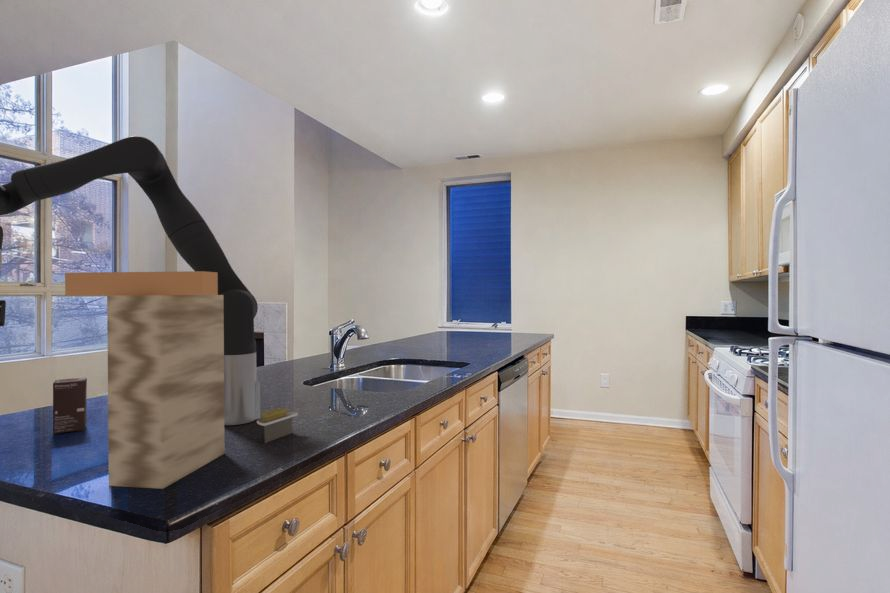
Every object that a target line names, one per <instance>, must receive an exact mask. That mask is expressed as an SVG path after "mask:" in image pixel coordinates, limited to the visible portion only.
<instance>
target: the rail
mask: <svg viewBox="0 0 890 593" xmlns="http://www.w3.org/2000/svg"><path fill="white" fill-rule="evenodd" d="M64 292H65V293H64V294H65V295H64V296H65V297H66V296H67V297H68V296H69V297H70V296H71V297H73V296H74V297H75V296H77V297H78V296H81V297H82V296H83V297H84V296H85V297H86V296H93V297H94V296H103V297H105V296H106V297H107V296H114V295H218V272H205V271H194V270H192V271H187V270H186V271H121V272H120V271H117V272H116V271H112V272H109V271H107V272H105V271H104V272H103V271H102V272H100V271H99V272H91V271H90V272H64Z"/></svg>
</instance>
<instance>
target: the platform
mask: <svg viewBox="0 0 890 593" xmlns="http://www.w3.org/2000/svg"><path fill="white" fill-rule="evenodd" d="M282 408H283V407H277V408H275V409H274V408H273V409H271V410H267V411H264V412H261V416H262V418H261V417H260V418H259V419H256V424H258V425H260V426H263V427H264V444H267V443H269V442H272V441H275V440H277V439H279V438H280V439H281V438H282V437H283V438H284V437H286V436H288V435H290V434H293V417H296V416H298V413H299V412H297V411H296V412H295V411H288V407H285V408H283V409H282Z"/></svg>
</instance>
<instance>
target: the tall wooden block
mask: <svg viewBox="0 0 890 593" xmlns="http://www.w3.org/2000/svg"><path fill="white" fill-rule="evenodd" d="M106 301H107V302H106V303H107V304H106V309H107V310H106V314H107V315H106V318H107V322H106V323H107V325H106V326H107V327H106V328H107V333H106V334H107V419H108V421H107V425H108V426H107V427H108V428H107V430H108V432H107V434H108V435H107V437H108V438H107V440H108V446H107V447H108V452H107V453H108V486H109V487H127V488H142V489H158V490H159V489H161V490H163V489H165V488H167V487H169V486H171V485H172V484H174V483H176V482H178V481H179V480H180V479H183V478H184V477H186V476H188V475H190V474H191V473H193V472H195V471H197V470H199V469H200V468H202V467H203V466H205V465H207V464H209V463H210V462H212V461H214V460H216V459H217V458H219V457H221V456H223V455H224V454H226V453H225V452H226V450H225V449H226V448H225V442H226V441H225V425H224V298H223V295H111V296H106Z"/></svg>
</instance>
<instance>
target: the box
mask: <svg viewBox="0 0 890 593" xmlns="http://www.w3.org/2000/svg"><path fill="white" fill-rule="evenodd" d="M87 381H88V380H87V377H78V378H67V379H66V378H64V379H55V380H54V382H53V383H52V434H53V435H57V434H62V433H69V432H77V431H85V430H86V427H87V389H88V388H87V385H88V383H87Z"/></svg>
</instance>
